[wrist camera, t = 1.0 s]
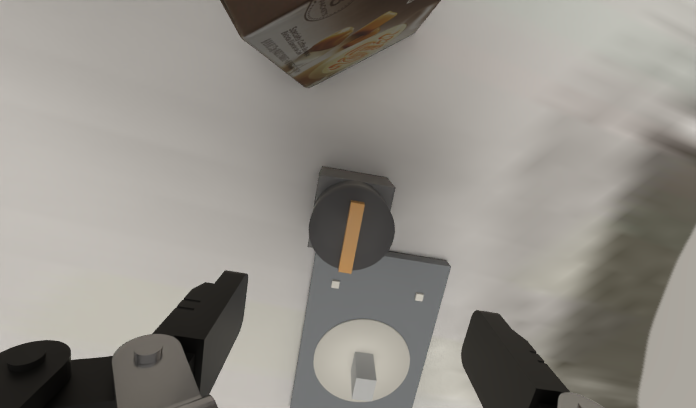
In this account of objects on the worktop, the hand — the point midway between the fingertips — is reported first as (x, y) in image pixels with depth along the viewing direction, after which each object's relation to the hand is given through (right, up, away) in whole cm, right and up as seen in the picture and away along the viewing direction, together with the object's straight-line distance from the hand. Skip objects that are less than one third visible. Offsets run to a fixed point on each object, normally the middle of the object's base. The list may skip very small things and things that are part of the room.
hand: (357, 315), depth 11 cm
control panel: (+1, -8, +18) cm, 20 cm away
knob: (0, +4, +15) cm, 16 cm away
